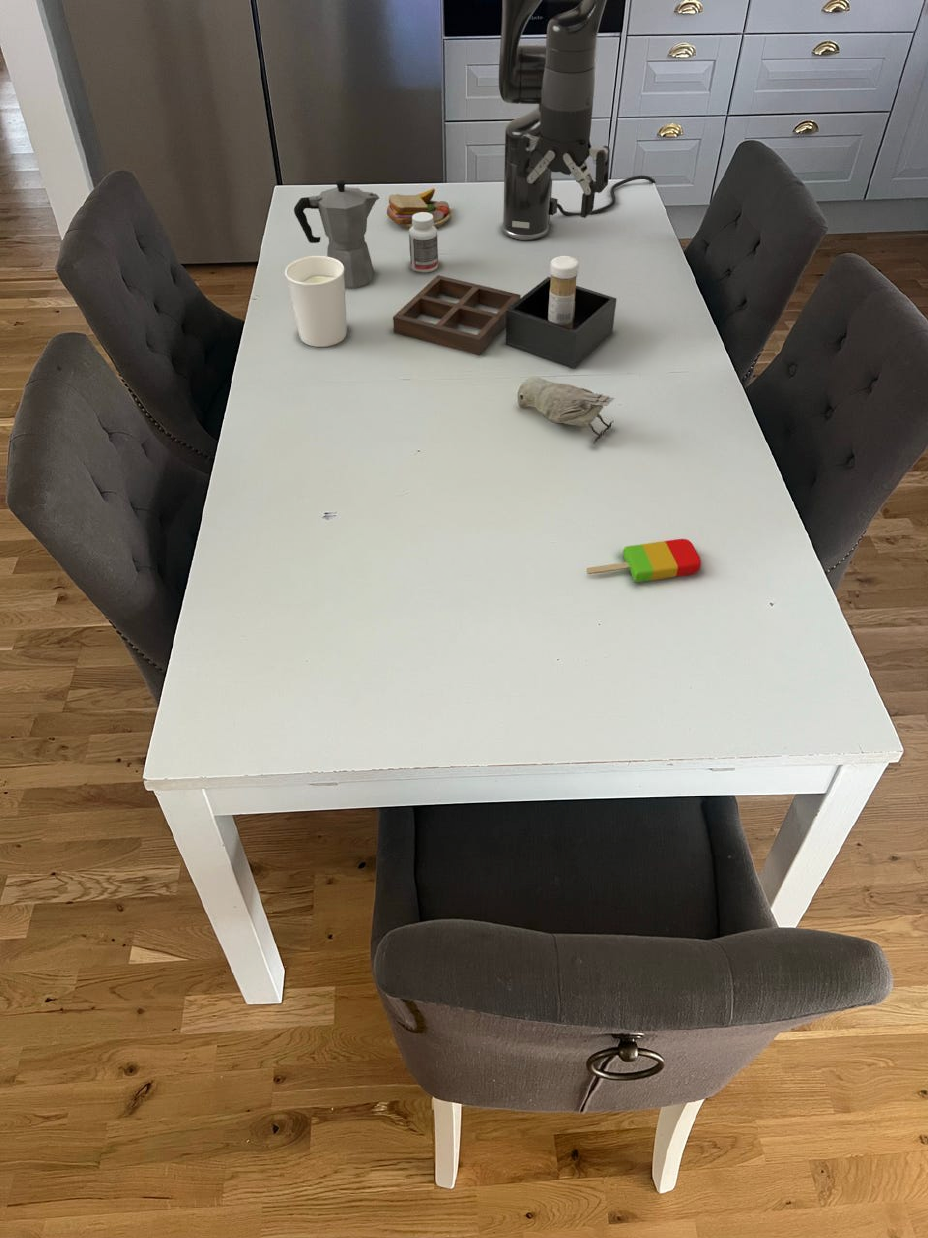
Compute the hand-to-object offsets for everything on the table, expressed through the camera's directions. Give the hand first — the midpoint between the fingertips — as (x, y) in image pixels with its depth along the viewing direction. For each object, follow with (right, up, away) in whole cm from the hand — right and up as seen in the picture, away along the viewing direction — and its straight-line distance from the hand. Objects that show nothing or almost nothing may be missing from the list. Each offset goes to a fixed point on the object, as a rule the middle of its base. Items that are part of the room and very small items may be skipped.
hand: (559, 210), depth 146 cm
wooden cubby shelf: (-16, -12, +19) cm, 27 cm away
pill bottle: (-23, +3, +32) cm, 40 cm away
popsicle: (+8, -58, -24) cm, 63 cm away
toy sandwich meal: (-24, +19, +46) cm, 56 cm away
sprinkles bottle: (+1, -16, +14) cm, 21 cm away
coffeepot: (-38, 0, +30) cm, 48 cm away
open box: (+1, -16, +14) cm, 22 cm away
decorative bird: (0, -34, -2) cm, 34 cm away
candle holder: (-40, -15, +16) cm, 45 cm away
